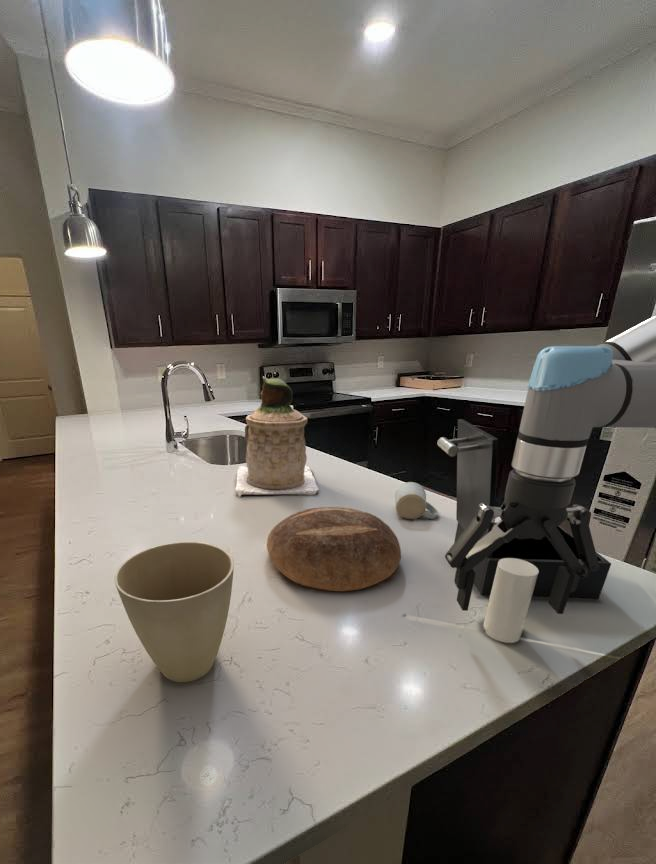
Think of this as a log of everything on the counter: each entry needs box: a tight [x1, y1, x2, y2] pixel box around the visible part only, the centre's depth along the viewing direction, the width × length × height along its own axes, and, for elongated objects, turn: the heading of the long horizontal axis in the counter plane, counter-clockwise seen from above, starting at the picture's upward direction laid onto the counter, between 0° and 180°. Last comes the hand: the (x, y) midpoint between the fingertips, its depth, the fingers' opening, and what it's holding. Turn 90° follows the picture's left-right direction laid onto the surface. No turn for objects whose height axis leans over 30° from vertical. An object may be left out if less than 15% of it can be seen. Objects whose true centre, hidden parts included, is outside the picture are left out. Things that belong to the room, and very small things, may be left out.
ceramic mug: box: [394, 481, 439, 520], centre depth 105 cm, size 11×8×8 cm
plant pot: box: [114, 541, 235, 683], centre depth 57 cm, size 15×15×16 cm
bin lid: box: [436, 418, 499, 558], centre depth 74 cm, size 20×16×6 cm
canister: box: [482, 558, 539, 644], centre depth 63 cm, size 5×5×12 cm
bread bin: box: [453, 521, 612, 600], centre depth 78 cm, size 20×16×8 cm
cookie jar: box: [234, 376, 319, 498], centre depth 124 cm, size 25×25×32 cm
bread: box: [266, 506, 402, 592], centre depth 85 cm, size 26×27×10 cm
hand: (508, 607), depth 63 cm, fingers open, 13 cm apart
